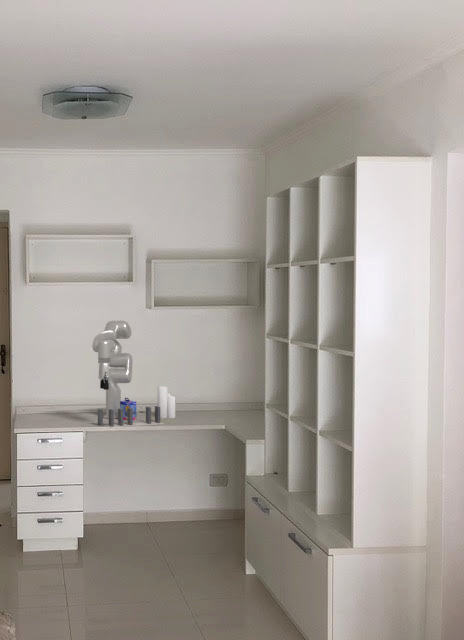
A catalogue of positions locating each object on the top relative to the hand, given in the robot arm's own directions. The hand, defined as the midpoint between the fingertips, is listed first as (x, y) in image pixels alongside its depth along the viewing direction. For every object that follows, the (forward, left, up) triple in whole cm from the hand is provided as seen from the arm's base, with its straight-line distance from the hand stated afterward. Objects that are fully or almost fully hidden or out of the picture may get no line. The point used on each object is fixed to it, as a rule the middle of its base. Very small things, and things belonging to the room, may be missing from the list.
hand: (104, 389), depth 576 cm
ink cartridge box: (-14, +20, -22) cm, 33 cm away
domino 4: (+6, +14, -22) cm, 27 cm away
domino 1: (0, -3, -22) cm, 22 cm away
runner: (+6, +17, -22) cm, 29 cm away
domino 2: (+6, +2, -22) cm, 23 cm away
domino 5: (+6, +26, -22) cm, 35 cm away
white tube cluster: (-14, +46, -22) cm, 53 cm away
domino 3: (+6, +8, -22) cm, 24 cm away
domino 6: (+6, +32, -22) cm, 39 cm away
